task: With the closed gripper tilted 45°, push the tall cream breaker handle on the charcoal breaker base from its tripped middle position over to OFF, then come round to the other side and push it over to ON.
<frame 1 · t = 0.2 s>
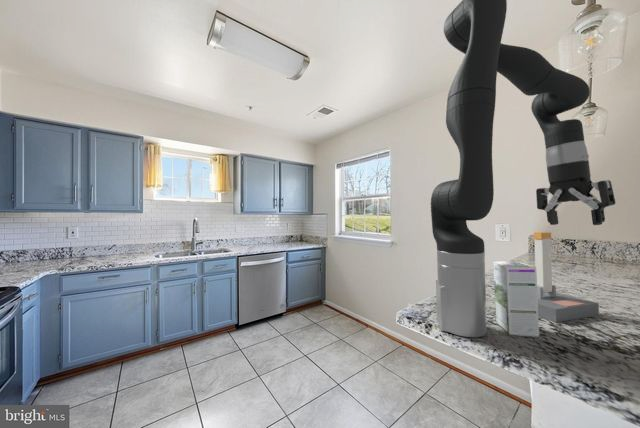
hand: (574, 224, 61), 22 cm above the countertop, tool pointing down, fingers open, 8 cm apart
breaker base: (544, 307, 63), on the countertop
syrup box: (515, 330, 52), on the countertop
breaker handle: (543, 262, 64), point 12 cm above the countertop, hinge at 0.0°
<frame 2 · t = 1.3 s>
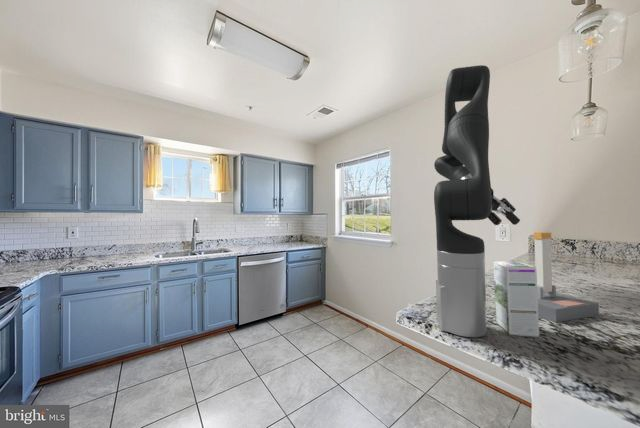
hand: (508, 223, 73), 22 cm above the countertop, tool tilted 45°, fingers open, 6 cm apart
nothing on the countertop moved.
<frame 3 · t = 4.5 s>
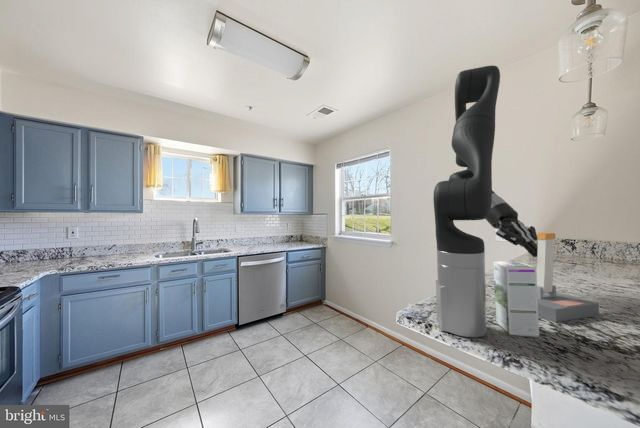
hand: (539, 255, 64), 14 cm above the countertop, tool tilted 45°, fingers closed
breaker handle: (545, 262, 63), point 12 cm above the countertop, hinge at 3.3°, touching gripper
everything else where it was.
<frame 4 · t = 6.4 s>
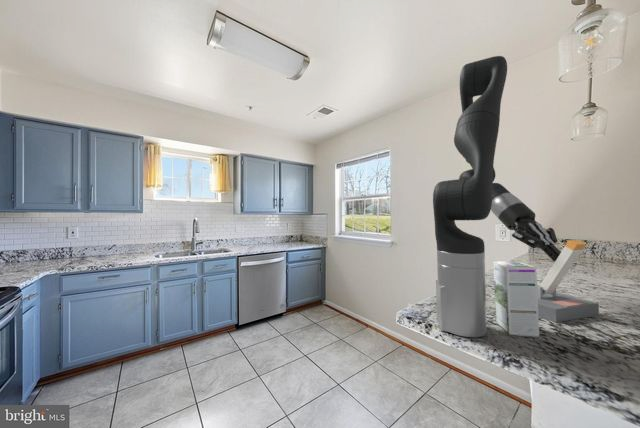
hand: (560, 259, 60), 14 cm above the countertop, tool tilted 45°, fingers closed
breaker handle: (560, 268, 60), point 11 cm above the countertop, hinge at 27.2°, touching gripper
everything else where it was.
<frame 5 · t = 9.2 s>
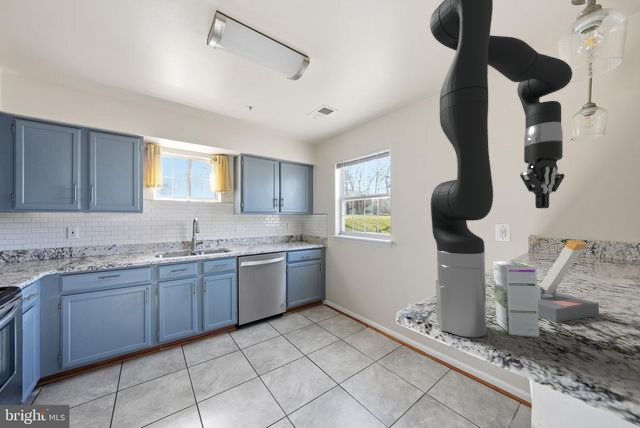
hand: (542, 208, 64), 27 cm above the countertop, tool pointing down, fingers closed
breaker handle: (560, 268, 60), point 11 cm above the countertop, hinge at 27.2°
everything else where it was.
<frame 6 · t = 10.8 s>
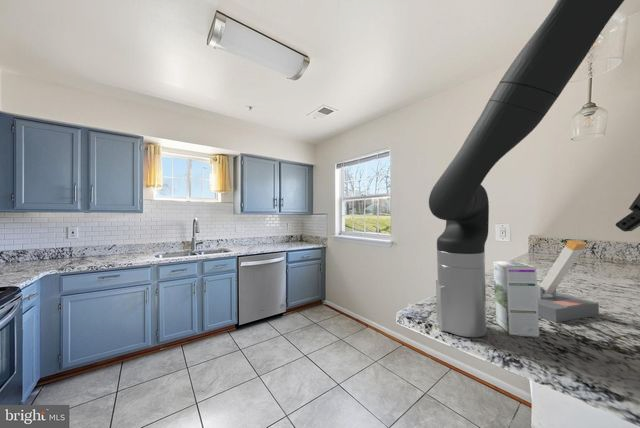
hand: (622, 228, 49), 22 cm above the countertop, tool tilted 45°, fingers closed
nothing on the countertop moved.
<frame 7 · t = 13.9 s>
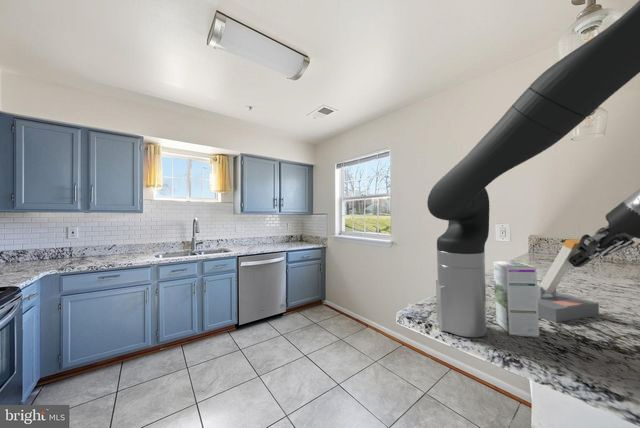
hand: (574, 264, 58), 13 cm above the countertop, tool tilted 45°, fingers closed
breaker handle: (559, 268, 60), point 11 cm above the countertop, hinge at 25.6°, touching gripper
everything else where it was.
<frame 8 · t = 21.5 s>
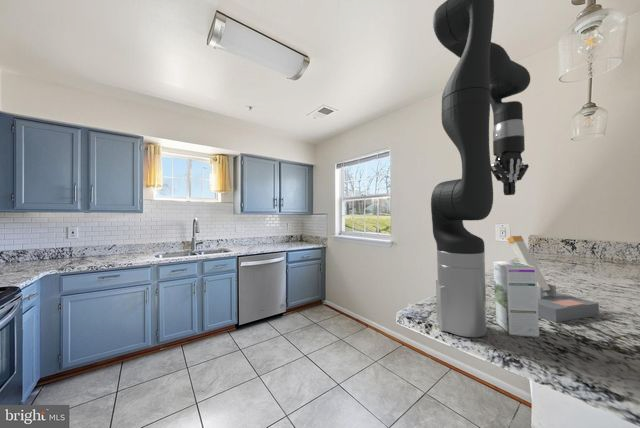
hand: (509, 194, 73), 31 cm above the countertop, tool pointing down, fingers closed
breaker handle: (528, 263, 67), point 11 cm above the countertop, hinge at -27.9°
everything else where it was.
at the end: breaker handle at -28° (first picture: +0°); syrup box moved 0.2 cm from its start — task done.
